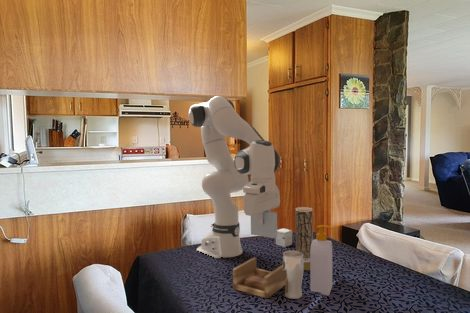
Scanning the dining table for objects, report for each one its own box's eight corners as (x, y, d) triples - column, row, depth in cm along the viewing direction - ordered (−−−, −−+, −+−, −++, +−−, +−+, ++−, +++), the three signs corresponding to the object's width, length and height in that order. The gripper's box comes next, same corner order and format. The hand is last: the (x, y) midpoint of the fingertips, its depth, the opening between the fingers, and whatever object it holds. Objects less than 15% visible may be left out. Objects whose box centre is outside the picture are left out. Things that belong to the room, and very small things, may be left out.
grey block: (250, 234, 127) (250, 210, 127) (253, 233, 129) (253, 209, 128) (274, 238, 122) (274, 213, 121) (277, 237, 123) (276, 212, 123)
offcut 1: (245, 283, 122) (245, 279, 122) (250, 279, 125) (250, 275, 125) (266, 288, 118) (266, 283, 117) (271, 284, 121) (271, 279, 121)
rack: (233, 291, 122) (232, 269, 121) (254, 277, 133) (253, 257, 133) (267, 301, 114) (267, 277, 113) (286, 286, 125) (286, 264, 125)
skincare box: (275, 244, 174) (275, 230, 173) (283, 242, 178) (283, 227, 177) (285, 247, 169) (284, 232, 169) (292, 244, 173) (292, 230, 173)
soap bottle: (331, 296, 116) (330, 229, 115) (310, 293, 119) (309, 228, 118) (334, 286, 124) (334, 223, 123) (315, 283, 127) (314, 221, 126)
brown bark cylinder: (313, 273, 136) (312, 210, 135) (295, 272, 138) (295, 210, 136) (313, 266, 143) (312, 207, 142) (296, 265, 144) (295, 206, 143)
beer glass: (281, 293, 119) (280, 250, 119) (300, 292, 120) (300, 249, 119) (285, 302, 112) (285, 257, 112) (306, 301, 113) (306, 256, 112)
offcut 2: (243, 287, 123) (243, 282, 123) (249, 283, 126) (249, 278, 126) (265, 293, 118) (265, 288, 117) (271, 288, 121) (271, 284, 121)
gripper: (269, 181, 135) (269, 216, 135) (240, 188, 118) (240, 228, 119) (284, 182, 131) (284, 218, 132) (255, 189, 114) (256, 231, 115)
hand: (263, 223), depth 125 cm, fingers closed on grey block, 2 cm apart
